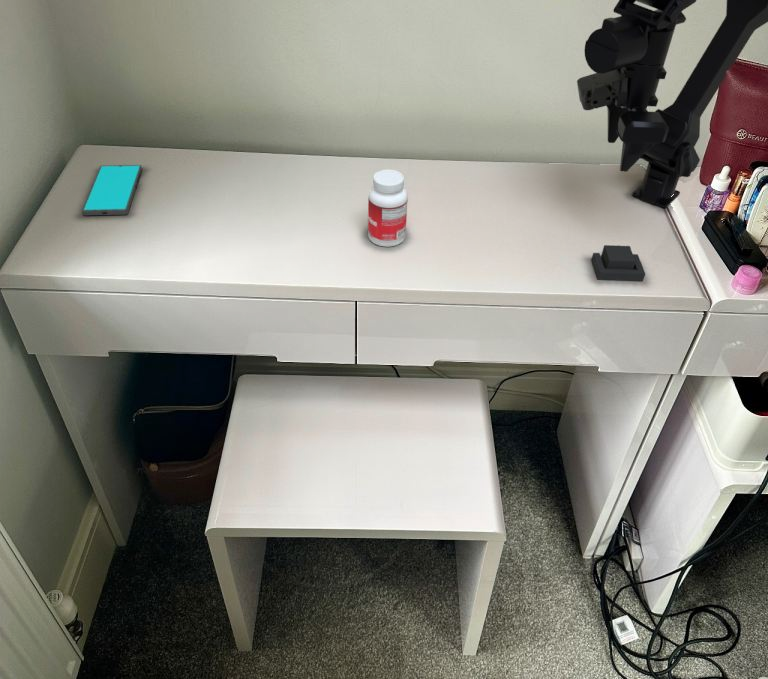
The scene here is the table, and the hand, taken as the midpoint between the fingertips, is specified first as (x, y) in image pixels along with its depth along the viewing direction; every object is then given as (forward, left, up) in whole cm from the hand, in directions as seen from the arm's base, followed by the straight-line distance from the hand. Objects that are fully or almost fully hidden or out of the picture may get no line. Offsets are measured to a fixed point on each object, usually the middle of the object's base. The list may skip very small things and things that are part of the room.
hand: (617, 156), depth 112 cm
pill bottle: (+28, -24, -12) cm, 39 cm away
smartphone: (+49, -68, -12) cm, 85 cm away
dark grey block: (+11, +8, -12) cm, 18 cm away
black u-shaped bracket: (+11, +9, -12) cm, 19 cm away
